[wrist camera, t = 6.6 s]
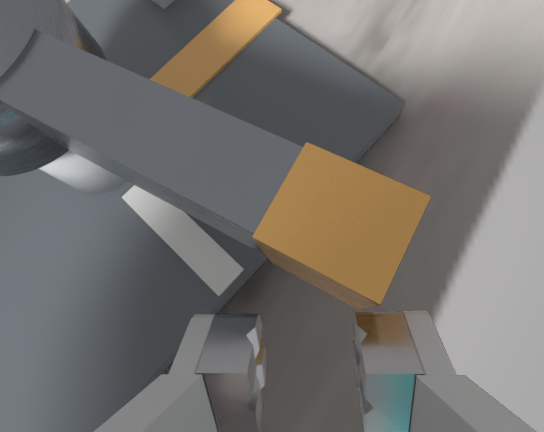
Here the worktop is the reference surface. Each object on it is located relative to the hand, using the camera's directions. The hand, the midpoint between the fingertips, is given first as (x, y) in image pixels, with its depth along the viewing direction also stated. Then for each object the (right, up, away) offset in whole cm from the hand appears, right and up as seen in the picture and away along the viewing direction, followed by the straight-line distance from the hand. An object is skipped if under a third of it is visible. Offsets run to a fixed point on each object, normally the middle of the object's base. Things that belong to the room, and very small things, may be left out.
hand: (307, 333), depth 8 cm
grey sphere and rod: (-6, +5, +4) cm, 9 cm away
